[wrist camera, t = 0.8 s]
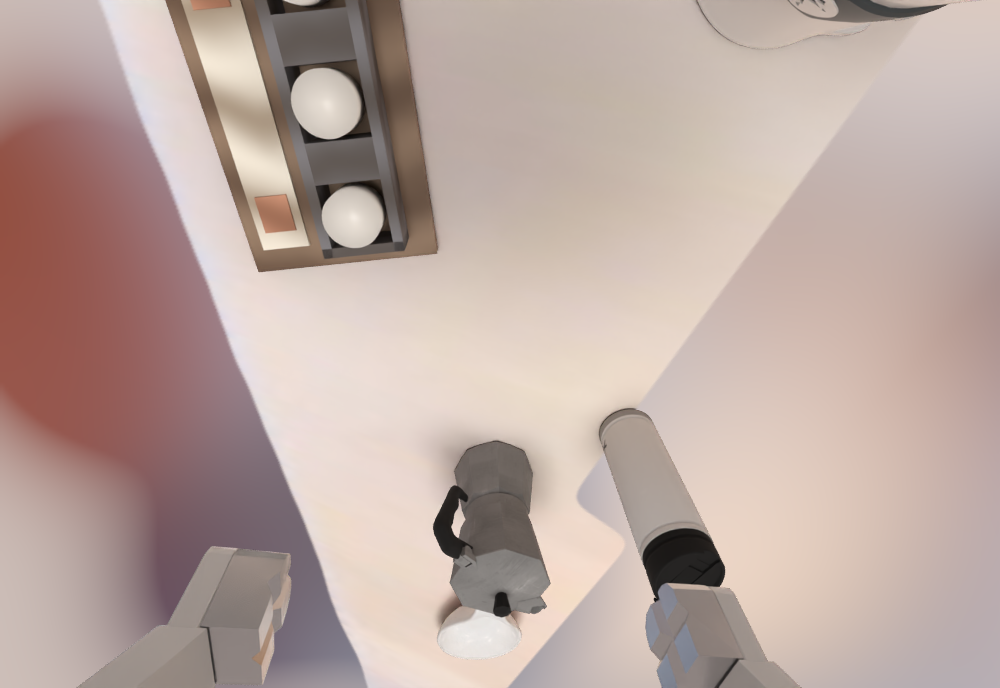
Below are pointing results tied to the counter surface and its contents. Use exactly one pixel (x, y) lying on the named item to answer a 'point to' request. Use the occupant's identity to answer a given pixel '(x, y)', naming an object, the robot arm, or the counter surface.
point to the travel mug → (658, 505)
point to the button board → (292, 149)
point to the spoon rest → (478, 634)
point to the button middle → (327, 102)
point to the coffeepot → (493, 533)
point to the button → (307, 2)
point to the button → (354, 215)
